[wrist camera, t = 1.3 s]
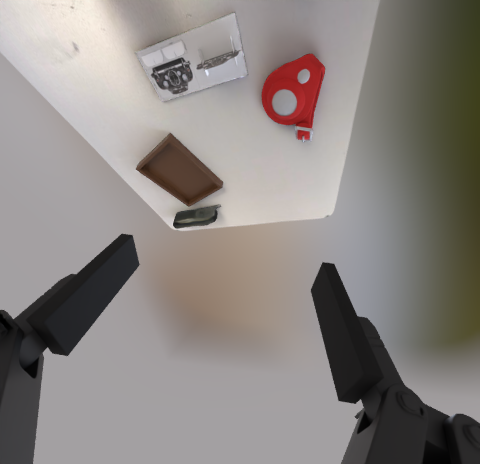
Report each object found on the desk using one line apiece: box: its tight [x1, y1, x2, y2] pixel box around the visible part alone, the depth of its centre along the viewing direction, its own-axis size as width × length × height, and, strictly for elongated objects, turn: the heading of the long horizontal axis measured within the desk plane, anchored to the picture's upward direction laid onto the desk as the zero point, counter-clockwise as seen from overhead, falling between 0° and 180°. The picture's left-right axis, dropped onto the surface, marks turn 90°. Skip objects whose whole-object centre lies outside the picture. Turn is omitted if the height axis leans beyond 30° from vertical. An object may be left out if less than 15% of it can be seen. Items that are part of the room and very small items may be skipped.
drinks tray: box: [136, 133, 223, 206], centre depth 46 cm, size 15×12×2 cm
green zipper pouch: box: [173, 205, 221, 228], centre depth 57 cm, size 5×3×15 cm
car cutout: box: [135, 12, 248, 102], centre depth 28 cm, size 15×7×4 cm, turn 106°
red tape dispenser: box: [262, 54, 325, 142], centre depth 31 cm, size 12×4×10 cm
